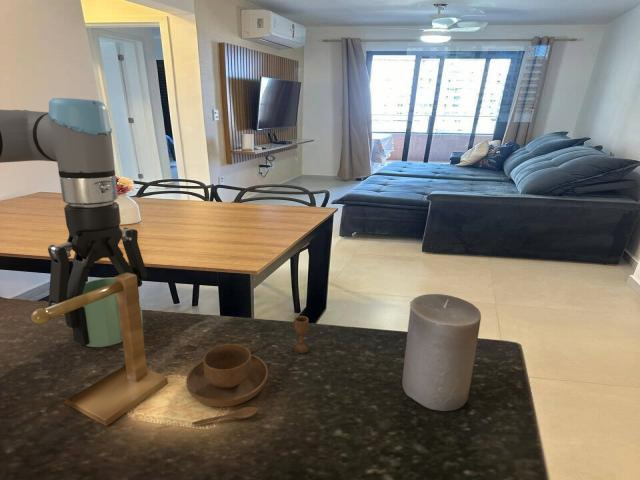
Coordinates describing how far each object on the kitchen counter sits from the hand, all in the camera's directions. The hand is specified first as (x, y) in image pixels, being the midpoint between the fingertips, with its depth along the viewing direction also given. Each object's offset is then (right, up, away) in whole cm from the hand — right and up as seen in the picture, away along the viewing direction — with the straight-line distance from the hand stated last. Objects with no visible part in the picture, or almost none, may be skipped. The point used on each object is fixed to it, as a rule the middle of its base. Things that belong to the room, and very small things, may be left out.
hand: (108, 329), depth 67 cm
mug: (+2, -1, -1) cm, 2 cm away
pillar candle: (+54, -7, -9) cm, 56 cm away
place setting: (+27, -6, -8) cm, 29 cm away
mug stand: (+6, -7, -13) cm, 15 cm away
